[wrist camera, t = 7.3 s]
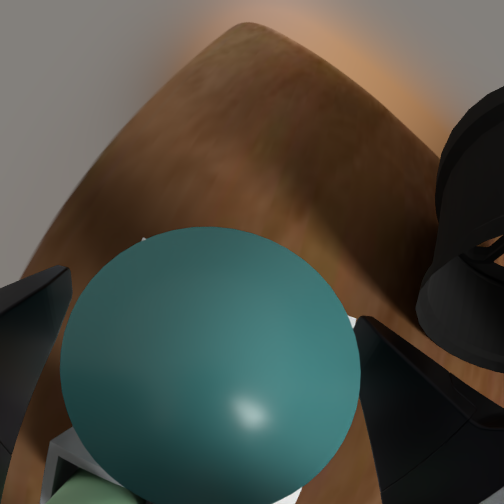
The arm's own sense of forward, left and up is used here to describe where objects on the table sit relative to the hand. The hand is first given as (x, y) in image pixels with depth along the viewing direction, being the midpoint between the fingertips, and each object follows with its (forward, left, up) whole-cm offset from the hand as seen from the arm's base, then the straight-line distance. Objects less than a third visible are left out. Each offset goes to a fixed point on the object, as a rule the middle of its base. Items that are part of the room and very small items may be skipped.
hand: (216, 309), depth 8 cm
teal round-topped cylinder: (-1, 0, -7) cm, 7 cm away
